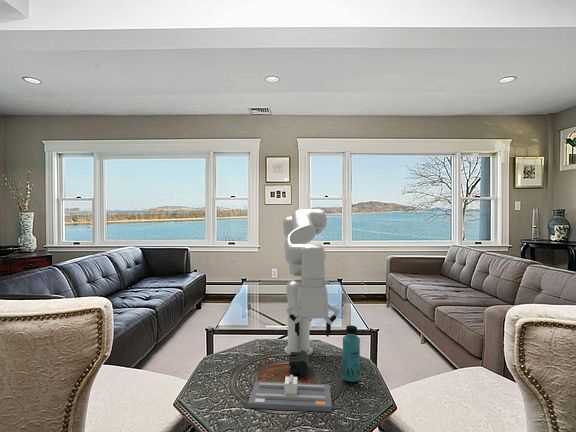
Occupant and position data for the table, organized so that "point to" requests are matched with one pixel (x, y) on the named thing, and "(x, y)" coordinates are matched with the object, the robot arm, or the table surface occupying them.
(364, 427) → the table surface
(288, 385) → the knob
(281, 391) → the breaker panel
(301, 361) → the end cap
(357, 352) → the beverage bottle
